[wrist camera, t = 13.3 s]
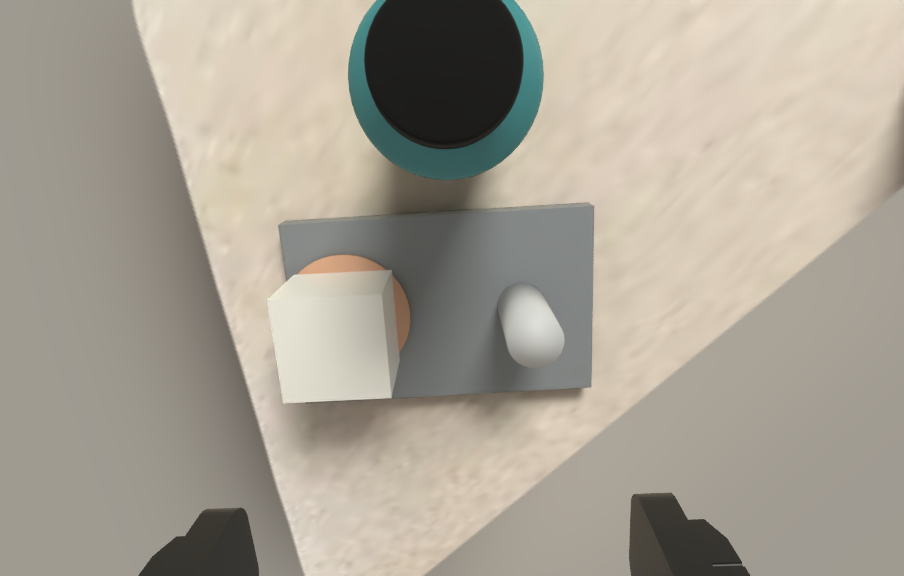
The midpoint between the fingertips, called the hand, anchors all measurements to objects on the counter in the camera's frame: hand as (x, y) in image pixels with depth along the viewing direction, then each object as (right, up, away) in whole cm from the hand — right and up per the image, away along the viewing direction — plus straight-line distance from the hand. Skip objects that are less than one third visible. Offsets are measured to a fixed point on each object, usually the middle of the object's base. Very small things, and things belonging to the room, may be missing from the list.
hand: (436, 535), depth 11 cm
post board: (0, +4, +24) cm, 25 cm away
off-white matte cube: (-6, +3, +22) cm, 23 cm away
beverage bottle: (0, +16, +21) cm, 26 cm away
